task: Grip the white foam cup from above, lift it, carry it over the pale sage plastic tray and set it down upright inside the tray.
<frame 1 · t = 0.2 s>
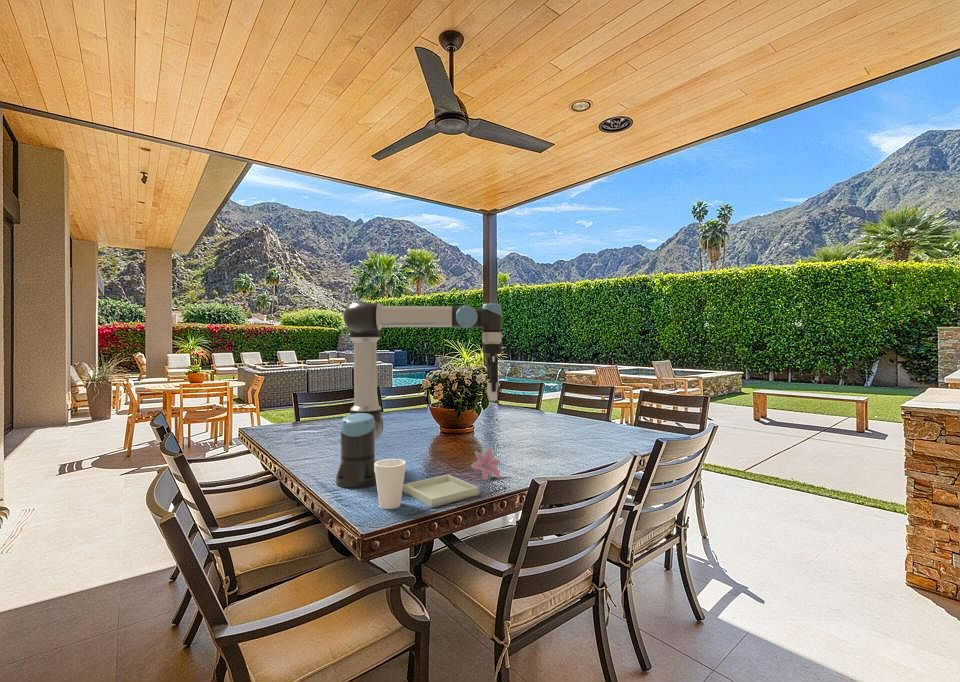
hand: (492, 397, 179), 28 cm above the table, tool pointing down, fingers open, 13 cm apart
lily: (486, 477, 170), on the table
foam cup: (390, 505, 141), on the table
tray: (440, 493, 151), on the table
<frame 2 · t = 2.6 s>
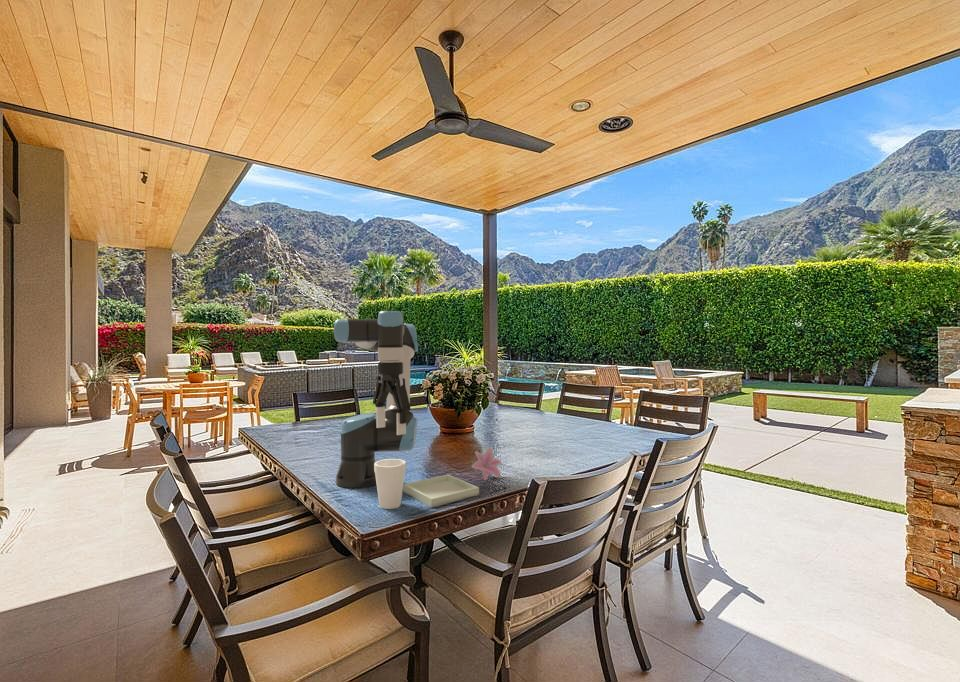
hand: (390, 430, 141), 23 cm above the table, tool pointing down, fingers open, 13 cm apart
nothing on the table moved.
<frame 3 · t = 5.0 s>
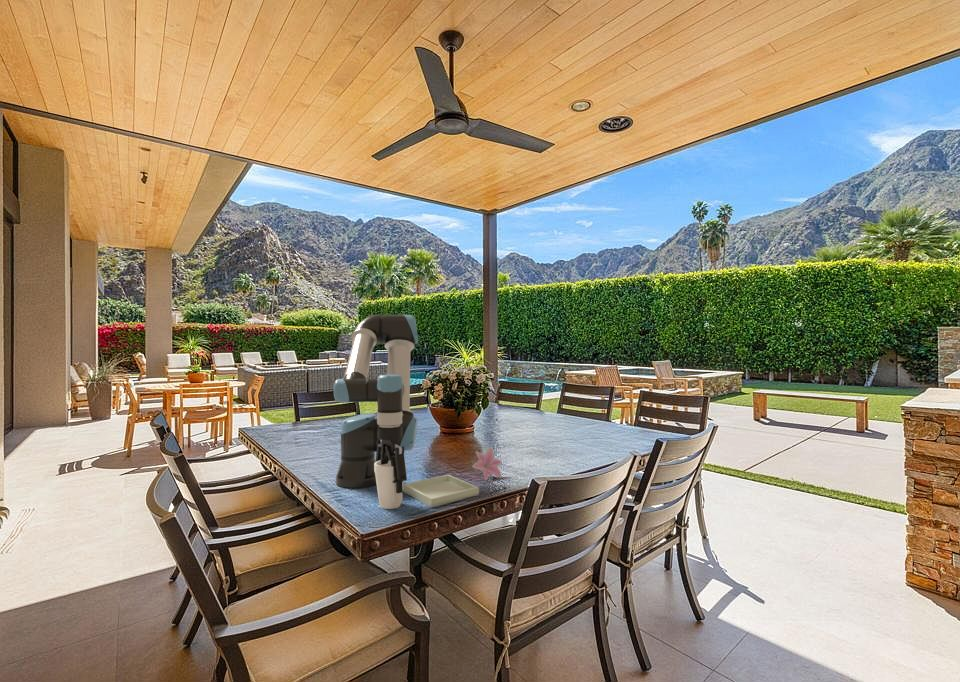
hand: (390, 498, 141), 2 cm above the table, tool pointing down, fingers closed on foam cup, 9 cm apart
foam cup: (390, 505, 141), on the table, touching gripper
everything else where it was.
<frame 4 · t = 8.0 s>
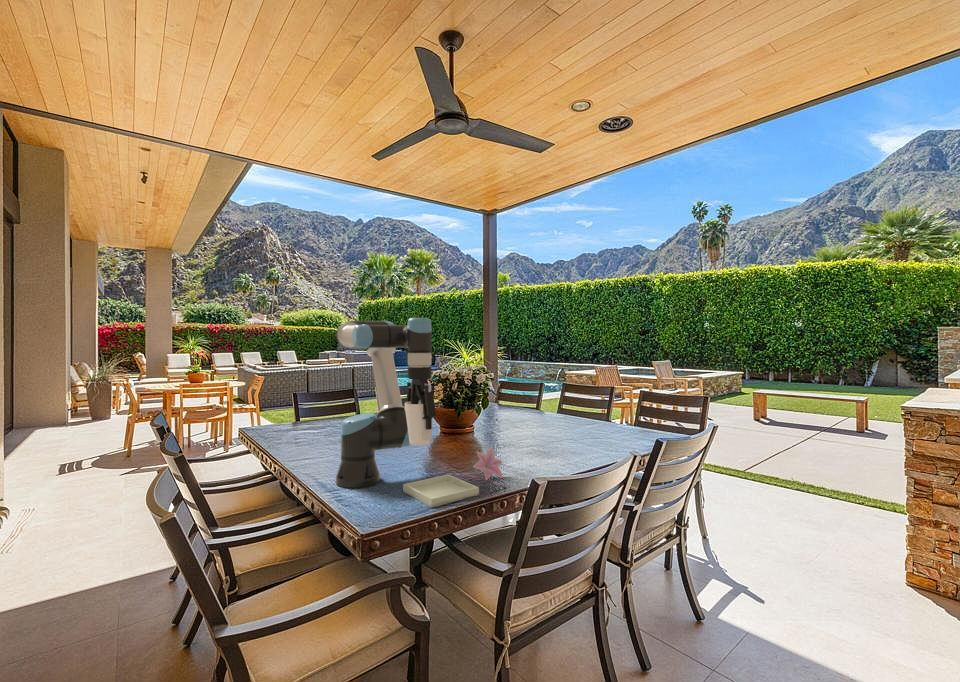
hand: (420, 436, 146), 20 cm above the table, tool pointing down, fingers closed on foam cup, 9 cm apart
foam cup: (419, 444, 146), point 17 cm above the table, touching gripper
everything else where it was.
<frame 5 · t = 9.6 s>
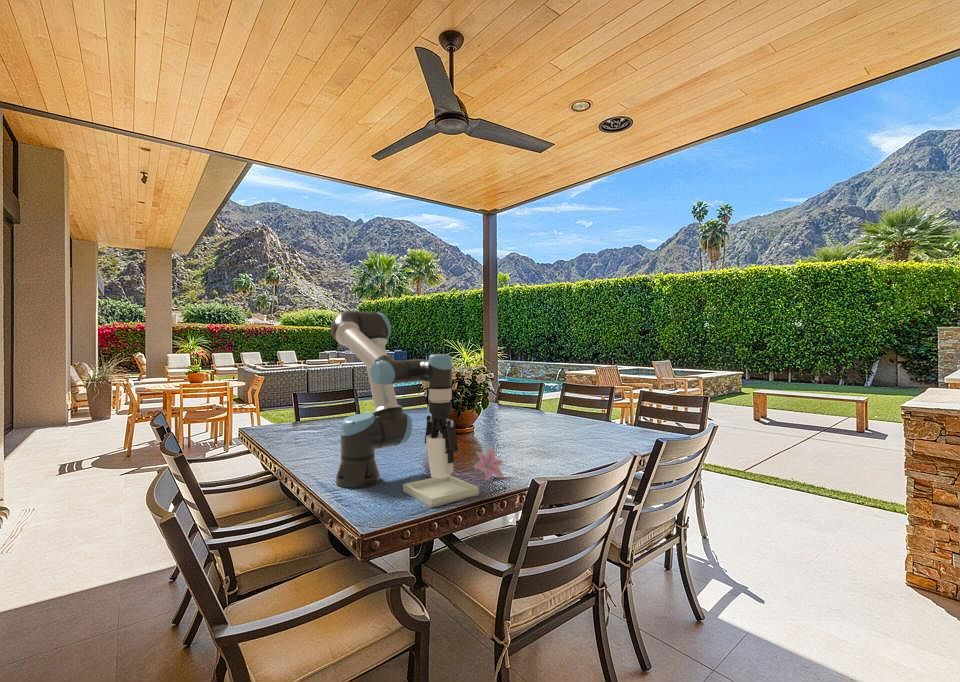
hand: (440, 469, 151), 8 cm above the table, tool pointing down, fingers closed on foam cup, 9 cm apart
foam cup: (440, 476, 151), point 6 cm above the table, touching gripper
everything else where it was.
when the fingers open (4 cm above the table, at t = 11.0 s): foam cup drops 1 cm, resting on tray.
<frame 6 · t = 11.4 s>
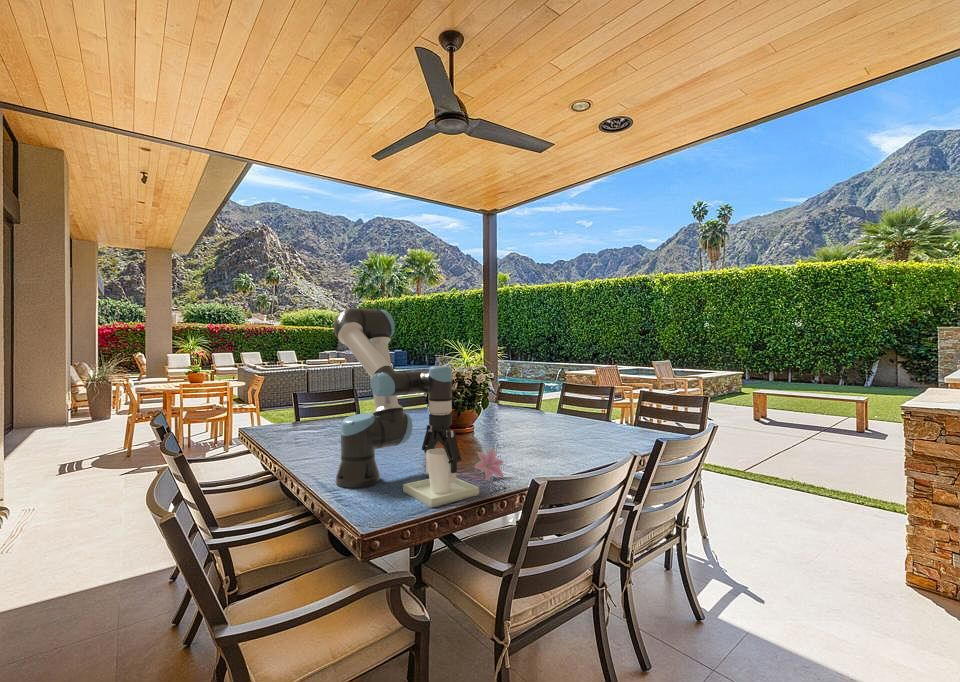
hand: (440, 477, 151), 5 cm above the table, tool pointing down, fingers open, 13 cm apart
foam cup: (440, 491, 151), point 1 cm above the table, touching tray
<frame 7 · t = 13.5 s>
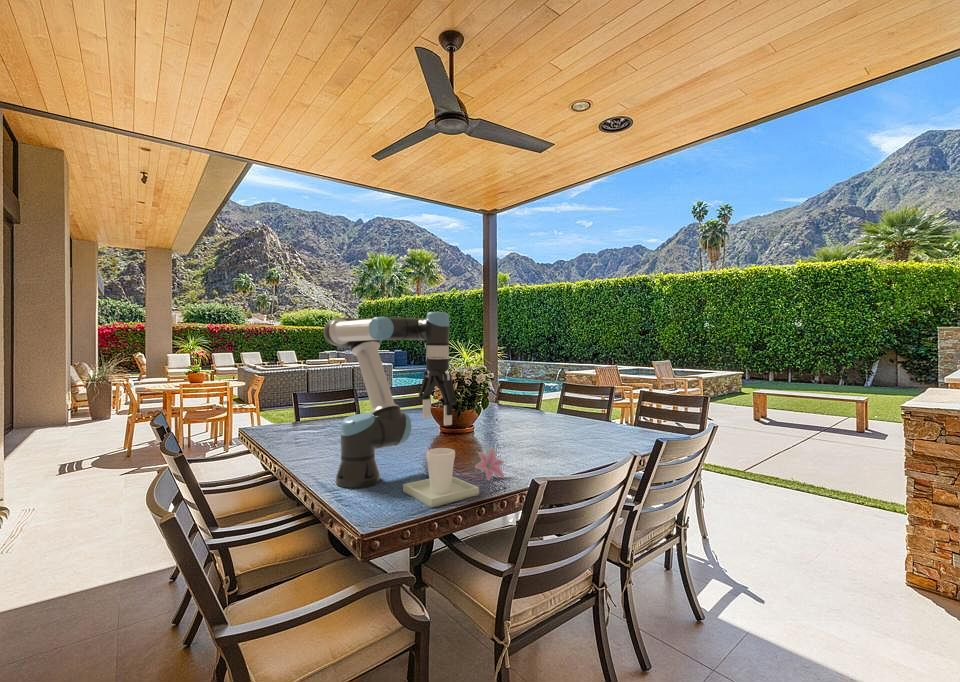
hand: (436, 421, 154), 23 cm above the table, tool pointing down, fingers open, 13 cm apart
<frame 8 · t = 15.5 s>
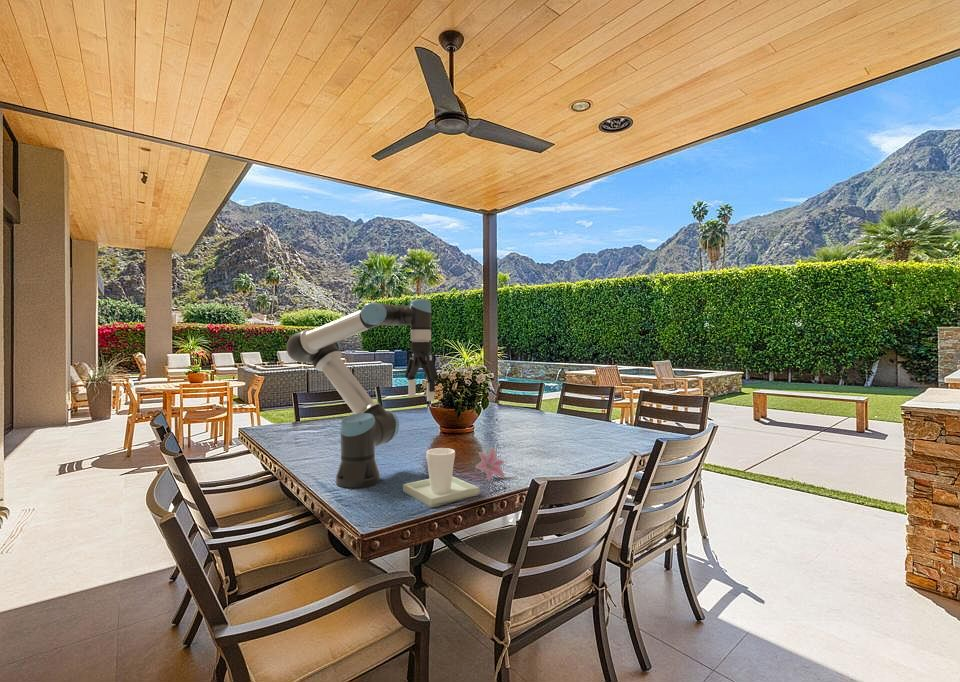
hand: (421, 398, 170), 29 cm above the table, tool pointing down, fingers open, 13 cm apart
at the end: foam cup inside the target area on the tray (0.1 cm from its centre), point 0.6 cm above the tray's base; foam cup tilted 0°; the gripper is holding nothing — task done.
